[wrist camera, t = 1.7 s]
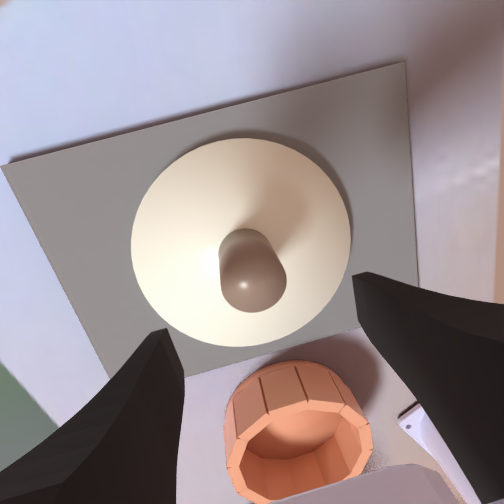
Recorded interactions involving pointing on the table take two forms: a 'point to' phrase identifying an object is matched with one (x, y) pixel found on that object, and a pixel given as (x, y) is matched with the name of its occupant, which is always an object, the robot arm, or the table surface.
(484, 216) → the table surface
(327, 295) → the lid
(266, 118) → the mat
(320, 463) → the bowl
